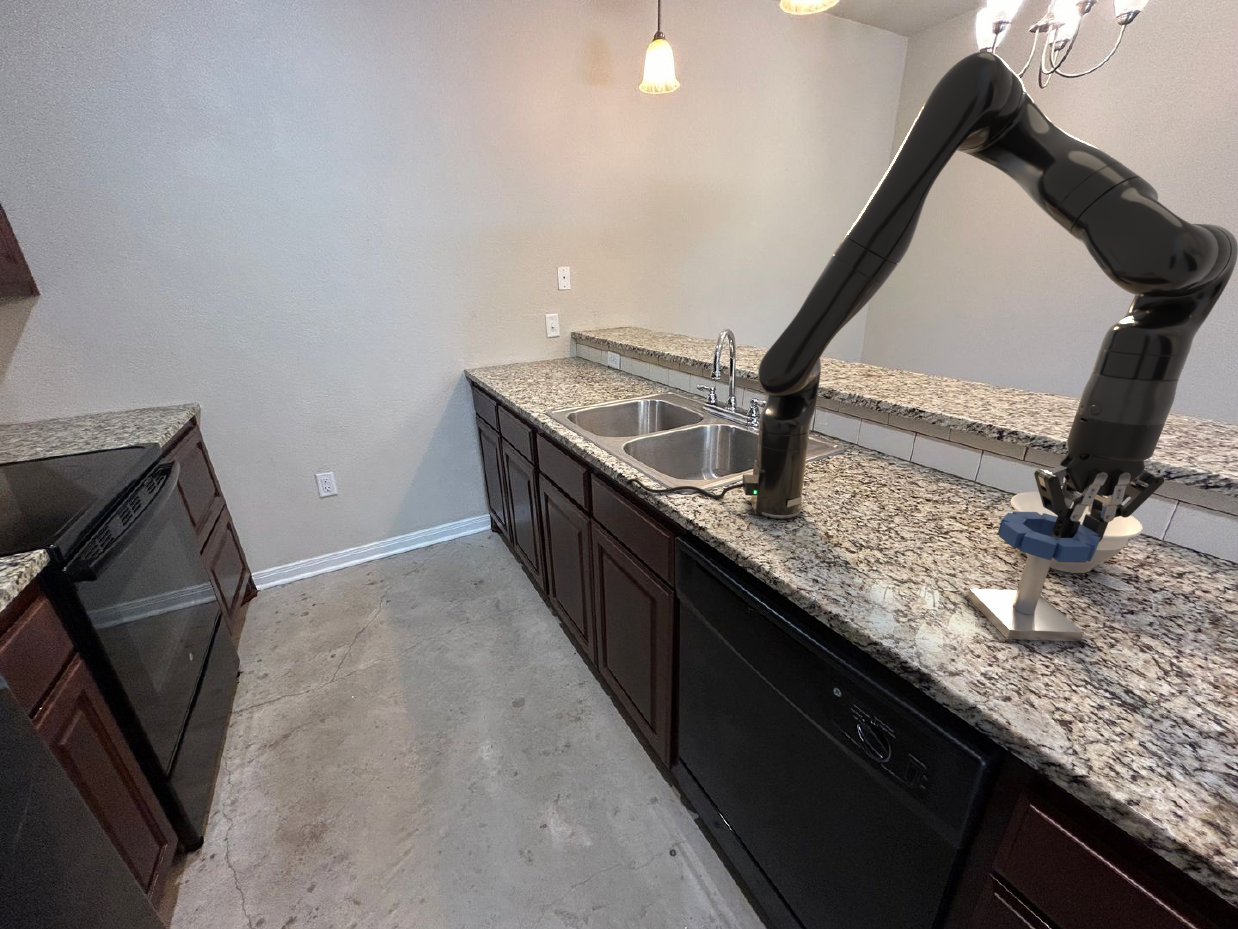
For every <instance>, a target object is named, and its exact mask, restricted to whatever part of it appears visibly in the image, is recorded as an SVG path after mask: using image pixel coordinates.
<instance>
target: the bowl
mask: <svg viewBox="0 0 1238 929" xmlns="http://www.w3.org/2000/svg"><path fill="white" fill-rule="evenodd" d="M1010 504H1011V506H1012V508H1013V509H1014V510H1015V512H1037V513H1039V514H1040V515H1042V514H1043V513H1046V514H1049V515H1053V516H1057V515H1056V514H1055V513H1053V512H1052V511H1050V510H1048V509H1046V508H1044V507H1043V504H1042V500H1041V497H1040V493H1039V491H1025V492H1020V493H1018V494H1015V495H1013V497H1011V499H1010ZM1073 504H1074V502H1073V503H1072V505H1071V507H1070V508H1072V506H1073ZM1088 508H1089V506H1086V508H1085V510H1084V512H1083V514H1082V516H1081V518H1080V519H1079V520H1078V521H1080V522H1081V523H1080V524H1082V523H1083V520H1084V517H1085V515H1086V514H1090V513H1089V511H1088ZM1057 517H1058V516H1057ZM1143 532H1144V528H1143V524H1142V522H1140V520H1138V519H1137V518H1136V517H1134V516H1133V515H1132V514H1131V515H1130V516H1129V517H1122V516H1119V517H1115V518H1114V519H1113V520H1112V521H1110V522H1108V525H1107V528H1106V530H1105V532H1104V536H1103V538H1102V540H1101V541H1100V542H1099V544H1098V546H1097V549H1096V552H1095V554H1094V556H1093V557H1092V559H1091V561H1090V562H1089V561H1086V562H1085V563H1077V562H1058V561H1056V560H1055V559H1054V558H1053V559H1052V562H1051V565H1050V568H1049V569H1053V570H1057V571H1059V572H1067V573H1072V574H1084V573H1085V574H1086V573H1089V572H1091V571H1092V570H1093V568H1094V567H1097V566H1099V565H1101V564H1103V563H1105V562H1107V561H1109V560H1110V559H1112V558H1114V557H1115V556H1117V555H1119V553H1120V552H1121V551H1122V550H1123V549H1124V548H1125V547H1126V545H1127V544H1128V542H1129V539H1131V538H1136V537H1138V536H1139V535H1141V534H1142V533H1143ZM1025 555H1026V557H1028V553H1025Z"/></svg>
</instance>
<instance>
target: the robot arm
mask: <svg viewBox="0 0 1238 929" xmlns="http://www.w3.org/2000/svg"><path fill="white" fill-rule="evenodd" d="M1009 66H1010V65H1008V64H1007V63H1006V62H1005V61H1004V60H1003V59H1002V58H1001V57H1000V56H998V55H997V54H995V53H994V52H991V51H983V50H981V51H977V52H974V53H971V54H969V55H966V56H964V58H962V59H960V60H959V61H958V62H956V63H955V64H954V65H953V66H952V67H950V68H949V70H947V71H946V73H944V75H943V76H942V77H941V78H940V79H939V81H938V82H937V83H936V85H935V86H934V87H933V89H932V90H931V92H930V94H929V95H928V97H927V99H926V100H925V102H924V104H923V105H922V107H921V109H920V111H919V113H918V114H917V116H916V118H915V120H914V122H913V123H912V126H911V127H910V129H909V131H908V133H907V135H906V137H905V139H904V140H903V142H902V144H901V146H900V148H899V150H898V152H897V153H896V155H895V157H894V159H893V160H892V161H891V164H890V166H889V167H888V168H887V170H886V171H885V173H884V175H883V177H882V178H881V180H880V181H879V183H878V185H877V186H876V187H875V190H874V191H873V192H872V194H871V196H870V197H869V199H868V201H867V202H866V204H865V205H864V207H863V209H862V210H861V212H860V213H859V215H858V216H857V218H856V219H855V221H854V222H853V224H852V225H851V226H850V228H849V229H848V231H847V232H846V234H845V235H844V237H843V238H842V239H841V241H840V242H839V244H838V246H837V248H836V249H835V251H834V252H833V253H832V255H831V256H830V258H829V260H828V261H827V263H826V265H825V266H824V268H823V270H822V271H821V272H820V275H819V276H818V278H817V279H816V281H815V282H814V284H813V286H812V287H811V290H810V291H809V292H808V294H807V297H806V298H805V300H804V302H803V303H802V304H801V306H800V309H799V310H798V311H797V313H796V315H795V316H794V317H793V318H792V320H791V321H790V322H789V324H788V325H787V326H786V327H785V329H784V330H783V331H782V332H781V334H780V335H779V337H778V338H777V339H776V340H775V341H774V342H773V344H772V345H771V346H770V347H769V349H768V350H766V352H765V354H764V355H763V357H762V358H761V360H760V362H759V366H758V371H757V378H758V382H759V384H760V387H761V389H762V390H763V391H764V392H765V393H766V394H767V399H766V403H765V405H764V407H763V409H762V411H761V413H760V415H759V425H758V426H759V428H758V440H757V450H756V459H755V460H754V461H753V468H752V474H742V483H739V484H733V485H730V486H727V487H726V488H724V489H723V490H722V492H721V493H720V494H712V493H710V492H709V491H706V490H704V489H703V488H700V487H696V486H692V485H682V486H675V487H670V488H663V489H657V488H656V489H655V488H650V487H648V486H647V485H644V483H642V482H641V481H640V480H639V479H637V478H630V479H628V480H627V481H626V484H631V483H632V482H633V483H636V484H637V485H638V486H640V487H641V488H642V489H643V490H645V491H646V492H649V493H653V494H664V493H672V492H676V491H681V490H692V491H697V492H699V493H701V494H703V495H706V496H708V497H710V498H712V499H716V500H718V499H722V498H724V497H725V495H726V493H727V492H729V491H732V490H735V489H739V488H742V490H743V492H744V495H745V496H750V504H751V508H752V510H753V511H754V514H755V515H756V516H763V517H766V518H769V519H778V520H779V519H780V520H786V519H793V518H796V517H797V516H799V515H800V514H801V511H802V507H801V506H802V499H803V497H802V496H803V489H804V482H805V473H806V464H807V456H808V448H809V439H810V432H811V431H810V430H811V424H812V420H813V417H814V415H815V411H816V407H817V401H818V395H819V390H820V389H819V388H820V381H821V373H822V362H821V357H822V355H823V353H824V352H825V351H826V349H827V348H828V346H829V344H831V342H832V341H833V339H834V338H835V337H836V336H837V334H839V333H840V331H841V330H842V329H843V328H844V327H845V326H846V325H847V324H848V323H849V322H850V321H851V320H852V319H853V318H854V317H855V316H856V315H857V314H858V313H859V312H860V311H861V310H862V309H863V308H864V307H865V306H866V305H867V304H868V303H869V302H870V301H871V300H872V299H873V297H874V296H875V295H876V294H877V293H878V292H879V290H881V288H882V287H883V286H884V284H885V283H886V282H888V279H889V278H890V277H891V276H892V274H893V273H894V271H895V270H896V269H897V267H898V266H899V264H901V262H902V260H903V259H904V258H905V256H906V254H907V253H908V250H909V248H910V246H911V244H912V242H913V240H914V236H915V234H916V231H917V228H918V225H919V222H920V219H921V214H922V212H923V209H924V205H925V203H926V200H927V198H928V196H929V193H930V191H931V189H932V187H933V186H934V184H935V182H936V181H937V179H938V177H939V176H940V174H941V173H942V171H943V170H944V168H945V167H946V166H947V164H948V163H949V161H950V160H951V159H952V158H953V156H954V155H955V153H956V152H962V153H965V154H967V155H968V156H971V157H973V158H976V159H977V160H980V161H982V162H984V163H986V164H988V165H990V166H992V167H993V168H996V169H998V170H999V171H1001V172H1002V173H1004V174H1005V175H1006V176H1008V177H1009V178H1010V179H1011V180H1013V181H1014V182H1015V183H1016V184H1017V185H1019V186H1020V187H1021V189H1022V190H1023V191H1024V192H1025V193H1026V194H1027V195H1028V196H1029V198H1030V199H1031V200H1032V201H1033V203H1035V204H1036V205H1037V206H1038V207H1039V208H1040V209H1041V210H1042V211H1043V212H1044V213H1045V214H1046V215H1047V216H1048V217H1050V218H1051V219H1052V220H1053V221H1054V222H1056V223H1057V224H1058V226H1060V227H1061V228H1063V230H1065V231H1066V232H1067V233H1069V234H1070V235H1071V236H1073V237H1074V238H1075V239H1076V240H1078V241H1079V242H1081V243H1082V244H1083V245H1084V246H1085V248H1086V250H1087V252H1088V254H1089V255H1090V256H1091V258H1092V259H1093V260H1094V262H1095V263H1096V264H1097V265H1098V267H1099V268H1100V270H1101V271H1102V273H1104V274H1105V275H1106V276H1107V278H1109V280H1111V282H1113V283H1114V284H1115V285H1117V286H1118V287H1119V288H1121V289H1123V290H1124V291H1125V292H1127V293H1130V294H1132V295H1134V297H1133V299H1132V301H1131V303H1130V305H1129V308H1128V310H1127V312H1126V313H1125V315H1124V317H1122V318H1121V319H1120V320H1119V321H1117V322H1115V323H1114V324H1112V325H1111V326H1110V327H1109V328H1108V329H1107V330H1106V333H1105V335H1104V337H1103V339H1102V341H1101V344H1100V347H1099V350H1098V354H1097V356H1096V360H1095V363H1094V366H1093V368H1092V371H1091V373H1090V376H1089V379H1088V381H1087V382H1086V384H1085V386H1084V388H1083V390H1082V393H1081V397H1080V400H1079V403H1078V406H1077V409H1076V411H1075V415H1074V418H1073V421H1072V425H1071V428H1070V430H1069V434H1068V437H1067V440H1066V445H1067V453H1066V455H1065V456H1064V457H1063V458H1062V459H1061V460H1060V462H1059V465H1058V466H1056V467H1053V468H1050V469H1048V470H1045V469H1044V468H1038V469H1036V470H1035V471H1034V473H1033V475H1034V476H1033V477H1034V479H1035V482H1036V487H1037V489H1038V492H1039V493H1040V497H1041V500H1042V504H1043V507H1044V508H1046V509H1048V510H1050V511H1052V512H1053V513H1055V514H1056V515H1057V516H1058V517H1057V520H1056V523H1055V527H1054V529H1053V532H1052V536H1053V537H1054V538H1073V537H1074V536H1075V534H1076V533H1077V531H1078V528H1079V525H1080V523H1081V522H1080V521H1078V520H1079V519H1080V518H1081V516H1082V514H1083V512H1084V510H1085V508H1086V506H1089V508H1088V511H1089V513H1090V514H1086V515H1085V517H1084V520H1083V523H1082V525H1083V526H1085V527H1087V528H1088V529H1090V530H1092V531H1093V532H1095V533H1097V534H1098V537H1100V541H1101V540H1102V538H1103V536H1104V532H1105V530H1106V528H1107V525H1108V522H1110V521H1112V520H1113V519H1114V518H1115V517H1119V516H1122V517H1129V516H1130V515H1131V516H1132V515H1133V514H1134V513H1135V512H1136V511H1137V510H1138V509H1139V508H1140V506H1141V505H1143V504H1144V503H1145V502H1146V501H1147V500H1148V499H1149V498H1150V497H1151V496H1153V494H1154V493H1155V492H1156V491H1157V490H1158V489H1160V487H1161V486H1162V485H1163V484H1164V483H1165V478H1164V477H1163V476H1160V475H1158V474H1156V473H1154V472H1151V471H1148V470H1146V465H1145V461H1147V460H1149V459H1151V458H1152V456H1153V455H1154V452H1155V450H1156V448H1157V445H1158V443H1159V440H1160V437H1161V435H1162V432H1163V430H1164V428H1165V425H1166V422H1167V419H1168V417H1169V414H1170V412H1171V410H1172V407H1173V405H1174V402H1175V398H1176V393H1177V387H1178V384H1179V380H1180V377H1181V375H1182V372H1183V369H1184V367H1185V364H1186V363H1187V359H1188V357H1189V354H1190V352H1191V349H1192V346H1193V342H1194V338H1195V336H1196V335H1197V333H1198V331H1199V330H1200V328H1202V325H1203V324H1204V323H1205V322H1206V320H1207V319H1208V317H1209V315H1210V314H1211V312H1212V310H1213V309H1214V307H1215V305H1216V304H1217V302H1218V301H1219V299H1220V297H1222V294H1223V293H1224V291H1225V289H1226V288H1227V285H1228V283H1229V282H1230V280H1231V278H1232V275H1233V273H1234V271H1235V268H1236V265H1237V261H1238V241H1237V238H1236V237H1235V235H1234V234H1233V233H1232V232H1231V231H1229V230H1228V229H1226V228H1225V227H1223V226H1220V225H1216V224H1209V223H1191V222H1189V221H1186V220H1185V219H1183V218H1182V217H1180V216H1178V215H1177V214H1176V213H1174V212H1173V211H1171V210H1170V209H1169V208H1167V207H1166V206H1165V205H1164V204H1163V203H1161V202H1160V201H1159V193H1158V191H1157V190H1156V189H1155V188H1154V187H1153V186H1152V184H1151V183H1150V182H1148V181H1147V180H1146V179H1144V178H1143V177H1141V175H1139V174H1137V173H1136V172H1135V171H1133V170H1132V169H1130V168H1129V167H1127V166H1126V165H1125V164H1123V163H1122V162H1120V161H1119V160H1118V159H1116V158H1114V156H1113V157H1112V156H1111V155H1110V154H1108V153H1106V152H1105V151H1102V150H1101V149H1099V148H1097V147H1096V146H1094V145H1092V144H1089V143H1088V142H1085V141H1083V140H1080V139H1079V138H1077V137H1074V136H1073V135H1071V134H1069V133H1067V132H1065V131H1064V130H1063V129H1062V128H1060V127H1058V126H1057V125H1056V124H1054V123H1053V122H1052V121H1051V120H1050V119H1049V118H1048V117H1047V116H1046V114H1044V113H1043V111H1042V110H1041V109H1040V108H1039V106H1038V105H1037V104H1036V103H1035V102H1034V100H1033V99H1032V97H1031V96H1030V95H1029V94H1028V92H1027V91H1026V89H1025V87H1024V84H1023V81H1022V79H1021V78H1020V76H1018V75H1017V74H1016V73H1015V72H1014V70H1012V68H1011V67H1009ZM1064 479H1065V481H1064ZM1128 498H1129V499H1128ZM1127 499H1128V500H1127ZM1126 500H1127V501H1126ZM1125 501H1126V502H1125ZM1073 502H1074V504H1073V506H1072V508H1070V507H1071V505H1072V503H1073ZM1124 502H1125V503H1124ZM1123 503H1124V504H1123ZM1100 541H1099V542H1100Z"/></svg>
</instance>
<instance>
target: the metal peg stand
mask: <svg viewBox="0 0 1238 929" xmlns="http://www.w3.org/2000/svg"><path fill="white" fill-rule="evenodd" d="M1026 557H1027V558H1026V561H1025V564H1024V566H1023V567H1024V568H1023V569H1022V574H1021V577H1020V580H1019V583H1018V586H1017V589H997V588H996V589H993V588H992V589H991V588H969V589H968V594H967V599H968V600H969V601H970V602H971V603H972V604H973V605H974V606H975V607H976V609H978V611H980V612H981V613H982V615H983V616H984V617H985V618H986V619H987V620H988V621H989V622H990V623H991V624H992V625H993V626H994V627H995V628H996V629H997V630H998V631H999V633H1000V634H1001V635H1002V636H1004V638H1005V639H1006V640H1019V641H1020V640H1022V641H1049V642H1050V641H1052V642H1053V641H1055V642H1056V641H1057V642H1081V641H1082V639H1083V636H1084V634H1085V631H1084V630H1082V629H1081V628H1080V627H1079V626H1077V625H1076V623H1074V622H1073V621H1072V620H1071V619H1070V618H1068V617H1067V616H1066V615H1065V614H1063V613H1062V612H1061V611H1059V609H1058V608H1056V607H1055V606H1054V605H1053V604H1052V603H1051V602H1049V601H1048V600H1047V599H1046V598H1045V597H1044V596H1042V595H1041V594H1042V591H1043V588H1044V586H1045V582H1046V579H1047V576H1048V573H1049V570H1050V569H1051V568H1050V565H1051V562H1052V559H1053V558H1052V559H1051V561H1050V560H1047V559H1044V558H1040V557H1037V556H1034V555H1031V554H1028V556H1026Z"/></svg>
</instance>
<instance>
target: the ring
mask: <svg viewBox="0 0 1238 929" xmlns="http://www.w3.org/2000/svg"><path fill="white" fill-rule="evenodd" d="M1056 520H1057V516H1053V515H1049V514H1046V513H1043V514H1042V515H1040V514H1039V513H1037V512H1016V511H1012V512H1007V514H1005V515H1004V517H1002V518H1001V521H1000V523H999V527H998V531H997V534H998V537H999V538H1000V539H1001V540H1002V541H1004V542H1005V543H1006V544H1008V545H1009V547H1012V548H1013V549H1019V552H1022V553H1024V554H1026V553H1028V554H1031V555H1034V556H1037V557H1040V558H1044V559H1047V560H1050V561H1051V559H1052V558H1054V559H1055V560H1056V561H1058V562H1077V563H1085V562H1086V561H1089V562H1090V561H1091V559H1092V557H1093V556H1094V554H1095V552H1096V549H1097V546H1098V544H1099V541H1100V537H1098V534H1097V533H1095V532H1093V531H1092V530H1090V529H1088V528H1087V527H1085V526H1083V525H1082V524H1080V525H1079V528H1078V531H1077V533H1076V534H1075V536H1074V537H1073V538H1054V537H1053V536H1052V532H1053V529H1054V527H1055V523H1056Z"/></svg>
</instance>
